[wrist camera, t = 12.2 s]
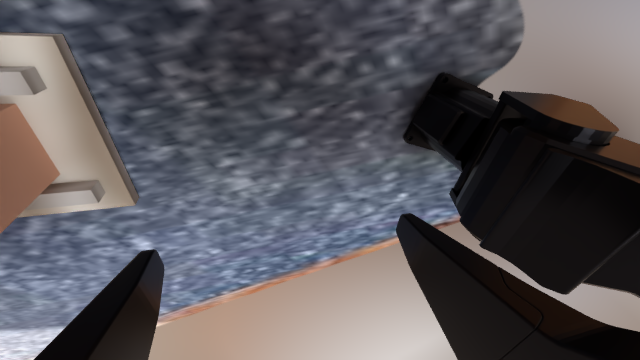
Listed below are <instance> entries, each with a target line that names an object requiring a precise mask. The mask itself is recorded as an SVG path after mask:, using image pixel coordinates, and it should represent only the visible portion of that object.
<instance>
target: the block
mask: <svg viewBox="0 0 640 360" xmlns="http://www.w3.org/2000/svg"><path fill="white" fill-rule="evenodd" d="M59 175H60V173H59V171H58V170H57V168H56V166H55V165H54V163H53V162H52V160H51V158H50V157H49V155H48V154H47V152H46V151H45V149H44V147H43V146H42V144H41V143H40V141H39V139H38V138H37V136H36V135H35V133H34V132H33V130H32V128H31V127H30V125H29V124H28V122H27V120H26V119H25V117H24V116H23V114H22V113H21V111H20V109H19V108H18V106H17V105H16V104H0V233H1V232H3V231H4V230H5V229H6V228H7V227H8V226H9V225H10V224H11V223H12V222H13V221H14V220H15V219H16V218H17V217H18V216H19V215H20V214H21V213H22V212H23V211H24V210H25V209H26V208H27V207H28V206H29V205H30V204H31V203H32V202H33V201H34V200H35V199H36V198H37V197H38V196H39V195H40V194H41V193H42V192H43V191H44V190H45V189H46V188H47V187H48V186H49V185H50V184H51V183H52V182H53V181H54V180H55V179H56V178H57V177H58V176H59Z"/></svg>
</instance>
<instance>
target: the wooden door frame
mask: <svg viewBox="0 0 640 360" xmlns="http://www.w3.org/2000/svg"><path fill="white" fill-rule="evenodd" d="M0 104H16V105H17V106H18V108H19V109H20V111H21V113H22V114H23V116H24V117H25V119H26V120H27V122H28V124H29V125H30V127H31V128H32V130H33V132H34V133H35V135H36V136H37V138H38V139H39V141H40V143H41V144H42V146H43V147H44V149H45V151H46V152H47V154H48V155H49V157H50V158H51V160H52V162H53V163H54V165H55V166H56V168H57V170H58V171H59V173H60V175H59V176H58V177H57V178H56V179H55V180H54V181H53V182H52V183H51V184H50V185H49V186H48V187H47V188H46V189H45V190H44V191H43V192H42V193H41V194H40V195H39V196H38V197H37V198H36V199H35V200H34V201H33V202H32V203H31V204H30V205H29V206H28V207H27V208H26V209H25V210H24V211H23V212H22V213H21V214H20V215H19V216H18V217H27V216H37V215H47V214H56V213H66V212H76V211H85V210H95V209H105V208H114V207H124V206H134V205H136V203H137V201H138V199H139V196H138V194H137V192H136V190H135V188H134V186H133V184H132V181H131V179H130V177H129V175H128V173H127V171H126V169H125V166H124V164H123V162H122V160H121V158H120V156H119V154H118V151H117V149H116V147H115V145H114V143H113V141H112V139H111V137H110V134H109V132H108V130H107V128H106V126H105V124H104V122H103V119H102V117H101V115H100V113H99V111H98V109H97V107H96V104H95V102H94V100H93V98H92V96H91V94H90V92H89V89H88V87H87V85H86V83H85V81H84V79H83V77H82V75H81V72H80V70H79V68H78V66H77V64H76V62H75V60H74V57H73V55H72V53H71V51H70V49H69V47H68V45H67V42H66V40H65V38H64V36H63V34H39V33H2V32H0ZM18 217H17V218H18Z"/></svg>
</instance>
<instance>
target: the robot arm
mask: <svg viewBox="0 0 640 360" xmlns="http://www.w3.org/2000/svg"><path fill="white" fill-rule="evenodd" d="M444 78H445V80H444V81H443V79H444ZM442 81H443V82H442ZM499 100H500V101H499V102H498V101H495V100H493V94H491V93H489V92H487V91H485V90H482V89H480V88H478V87H476V86H474V85H471V84H469V83H467V82H465V81H463V80H461V79H458V78H456V77H454V76H452V75H450V74H447V73H442V74H440V75H439V76H438V78H437V80H436V81H435V83H434V85H433V87H432V88H431V90H430V92H429V94H428V95H427V97H426V99H425V100H424V102H423V104H422V106H421V107H420V109H419V111H418V113H417V114H416V116H415V118H414V119H413V121H412V123H411V125H410V126H409V128H408V130H407V132H406V133H405V135H404V141H406V142H407V143H409V144H413V145H416V146H420V147H423V148H427V149H430V150H434V151H437V152H438V153H439V154H440V155H442V156H443V157H444V158H445V159H446V160H448V161H449V162H450V163H451V164H453V165H454V166H455V167H456V168H457V169H459V170H460V171H461V172H462V173H461V175H460V177H459V179H458V181H457V182H456V184H455V186H454V188H452V189H451V191H450V193H449V194H450V196H451V198H452V200H453V202H454V204H455V206H456V208H457V210H458V212H459V214H460V216H461V218H460V222H461V224H462V225H463V226H464V227H465V228H466V229H467V230H468V231H469V232H470V233H471V234H472V235H473V236H474V237H475V238H477V239H478V240H479V241H481V243H480V244H479V245H480V247H482V248H483V249H486V250H488V251H490V252H493V253H495V254H497V255H499V256H500V257H502V258H504V259H506V260H507V261H509V262H511V263H512V264H513V265H515V266H516V267H518V268H519V269H520V270H522V271H523V272H524V273H525V274H527V275H528V276H529V277H530V278H532V279H533V280H534V281H535V282H537V283H538V284H539V285H541V286H542V287H545V288H547V289H550V290H553V291H555V292H558V293H561V294H569V293H570V292H571V291H572V290H574V289H575V288H576V287H577V286H578V285H580V284H581V283H583V284H588V285H593V286H598V287H603V288H608V289H613V290H618V291H623V292H627V293H631V294H633V295H635V296H637V297H639V298H640V144H637V143H635V142H632V141H629V140H626V139H623V138H620V137H617V136H615V134H616V133H617V132H618V131H619V129H618V128H617V127H616V126H615V125H614V124H613V123H612V122H610V121H609V120H608V119H607V118H606V117H604V116H603V115H602V114H601V113H599V111H597V110H596V109H595V108H594V107H593V106H591V105H589V104H586V103H583V102H579V101H576V100H572V99H568V98H565V97H561V96H557V95H553V94H540V93H526V92H525V93H524V92H511V91H503V92H502V93H501V95H500V97H499ZM410 136H411V137H410ZM409 137H410V138H409ZM408 138H409V139H408ZM396 233H397V236H398V238H399V241H400V243H401V246H402V248H403V251H404V254H405V256H406V259H407V261H408V264H409V266H410V268H411V270H412V272H413V274H414V276H415V278H416V280H417V282H418V284H419V286H420V288H421V290H422V291H423V293H424V295H425V297H426V299H427V301H428V303H429V305H430V307H431V308H432V311H433V313H434V314H435V317H436V319H437V320H438V322H439V324H440V326H441V328H442V330H443V332H444V334H445V336H446V338H447V340H448V342H449V344H450V346H451V347H452V349H453V351H454V353H455V355H456V357H457V359H458V360H640V332H638V331H633V330H628V329H623V328H619V327H615V326H611V325H608V324H605V323H602V322H600V321H597V320H595V319H593V318H590V317H588V316H586V315H584V314H582V313H581V312H579V311H577V310H575V309H573V308H571V307H569V306H567V305H566V304H564V303H562V302H560V301H558V300H556V299H555V298H553V297H551V296H549V295H547V294H545V293H543V292H541V291H539V290H538V289H536V288H534V287H532V286H530V285H529V284H527V283H525V282H524V281H522V280H520V279H518V278H516V277H515V276H513V275H512V274H510V273H508V272H507V271H505V270H503V269H502V268H500V267H497V266H496V265H495V264H493V263H492V262H490V261H488V260H487V259H485V258H483V257H482V256H480V255H478V254H477V253H475V252H474V251H472V250H471V249H469V248H467V247H465V246H464V245H462V244H460V243H459V242H457V241H456V240H454V239H452V238H451V237H449V236H448V235H446V234H444V233H443V232H441V231H439V230H438V229H436V228H434V227H433V226H431V225H430V224H428V223H426V222H425V221H423V220H421V219H420V218H418V217H416V216H415V215H413V214H411V213H408V214H402V215H401V216H400V218H399V221H398V224H397V228H396ZM163 277H164V264H163V262H162V260H161V258H160V256H159V254H158V252H157V251H156V250H154V249H153V250H145V251H141V252H140V253H139V254H138V255H137V256H136V257H135V258H134V259H133V260H132V261H131V262H130V263H129V264H128V265H127V266H126V267H125V268H124V269H123V270H122V271H121V272H120V273H119V274H118V275H117V276H116V277H115V278H114V279H113V280H112V281H111V282H110V283H109V284H108V285H107V286H106V287H105V288H104V289H103V290H102V291H101V292H100V293H99V294H98V295H97V296H96V297H95V298H94V299H93V300H92V301H91V302H90V303H89V304H88V305H87V306H86V307H85V308H84V309H83V310H82V311H81V312H80V313H79V314H78V315H77V316H76V317H75V318H74V319H73V320H72V321H71V322H70V324H69V325H68V326H67V327H66V328H65V329H64V330H63V331H62V332H61V333H60V334H59V335H58V336H57V337H56V338H55V339H54V340H53V341H52V342H51V343H50V344H49V345H48V346H47V347H46V348H45V349H44V350H43V351H42V352H41V353H40V354H39V355H38V356H37V357H36V358H35V359H34V360H148V357H149V353H150V349H151V345H152V341H153V337H154V333H155V329H156V325H157V321H158V316H159V309H160V301H161V293H162V285H163Z"/></svg>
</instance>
